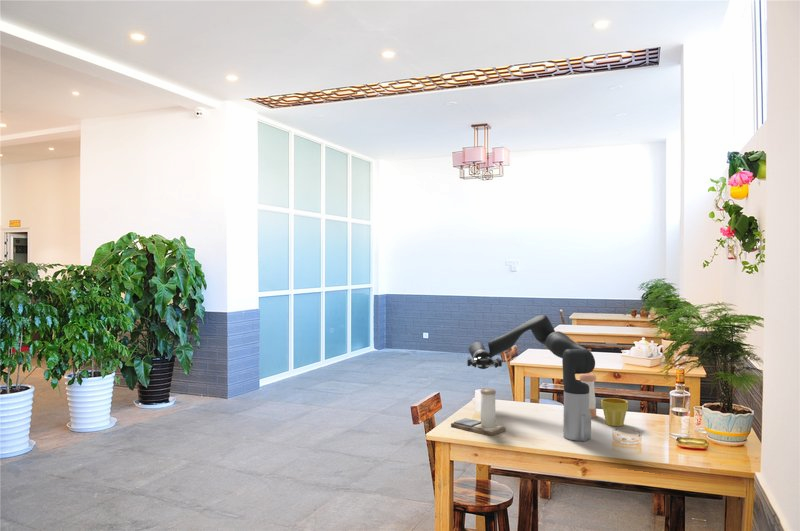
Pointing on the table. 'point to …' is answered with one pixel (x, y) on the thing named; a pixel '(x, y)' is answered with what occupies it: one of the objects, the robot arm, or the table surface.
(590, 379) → the pepper shaker
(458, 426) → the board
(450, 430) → the table surface
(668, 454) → the table surface
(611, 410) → the plant pot
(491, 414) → the tea canister
